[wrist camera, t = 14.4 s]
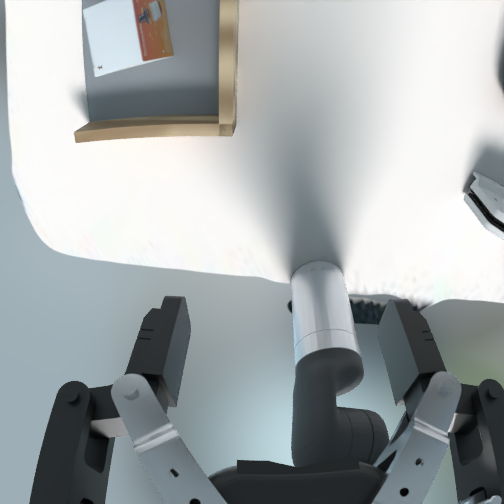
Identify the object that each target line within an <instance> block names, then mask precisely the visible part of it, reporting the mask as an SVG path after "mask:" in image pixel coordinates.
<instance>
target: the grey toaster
mask: <svg viewBox="0 0 504 504" xmlns="http://www.w3.org/2000/svg"><path fill="white" fill-rule="evenodd" d="M472 174H473V175H474V176H475V177H476V179H475V181H474V182H473V183H472V184H471V186H470V188H471V192H472V193H473V194H474V195H473V194H471V193H469V194H465V197H464V201H465V202H466V203H467V205H468V206H469V207H470V209H471V210H472V211H473V213H474V214H475V215H476V217H477V218H478V219H479V221H480V222H481V224H482V225H483V226H484V227H485V228H486V229H487V230H488V231H490V232H491V233H493V234H495V235H496V236H498V237H500V238H501V239H503V240H504V186H502V185H500V184H498V183H496V182H495V181H493V180H491V179H489V178H487V177H485V176H483V175H481V174H479V173H477V172H475V171H474V172H473V173H472Z"/></svg>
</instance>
